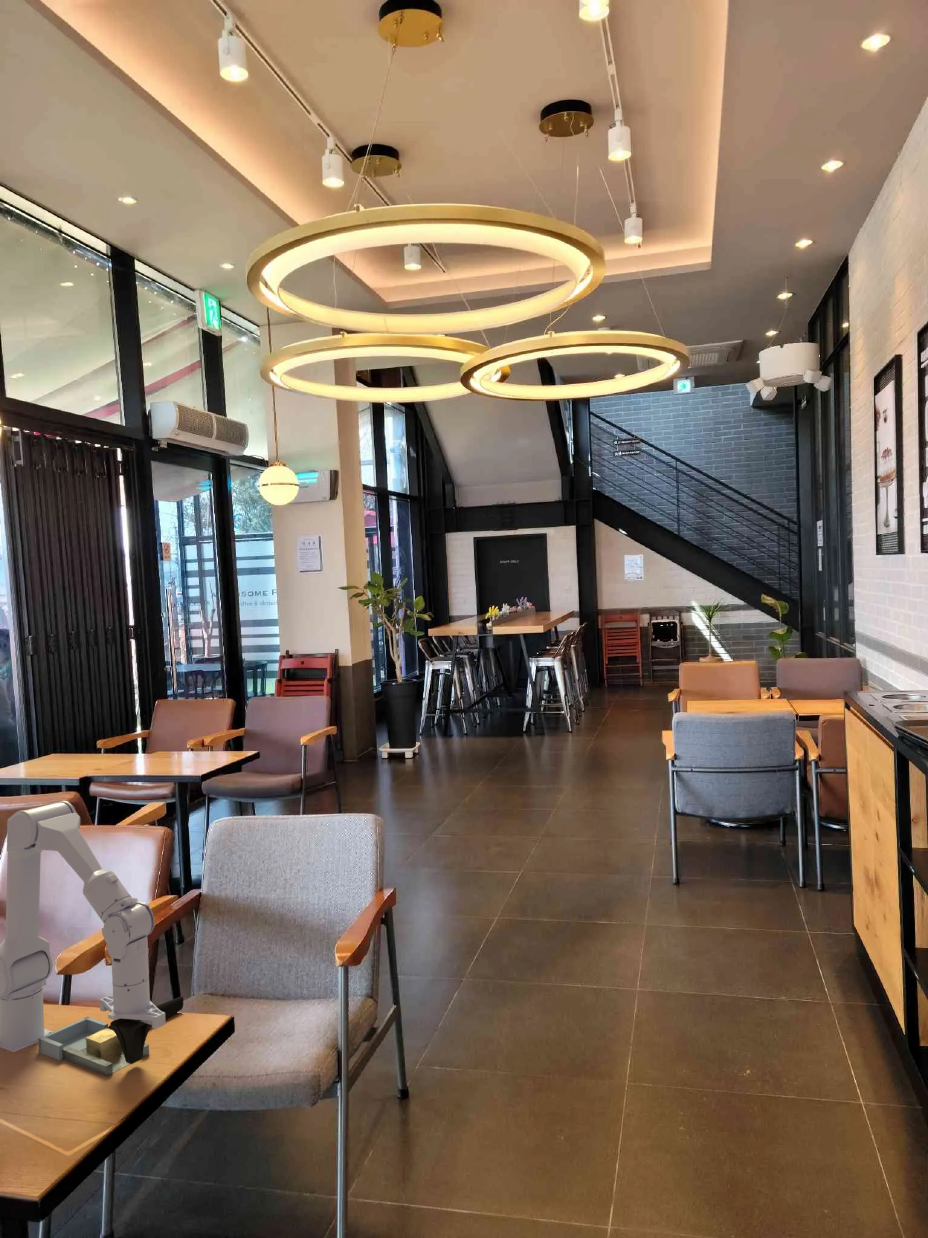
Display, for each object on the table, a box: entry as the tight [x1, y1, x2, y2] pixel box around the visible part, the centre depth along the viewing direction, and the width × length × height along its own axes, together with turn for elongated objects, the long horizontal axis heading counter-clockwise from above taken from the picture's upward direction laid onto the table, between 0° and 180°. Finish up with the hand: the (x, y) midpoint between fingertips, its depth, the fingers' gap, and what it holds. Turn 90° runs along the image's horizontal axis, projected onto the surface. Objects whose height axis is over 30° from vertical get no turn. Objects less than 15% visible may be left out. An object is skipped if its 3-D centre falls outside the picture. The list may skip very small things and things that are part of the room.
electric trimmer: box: [108, 996, 184, 1030], centre depth 165 cm, size 4×16×3 cm, turn 143°
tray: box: [37, 1016, 109, 1061], centre depth 158 cm, size 6×10×3 cm, turn 147°
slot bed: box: [62, 1043, 150, 1077], centre depth 153 cm, size 12×8×2 cm
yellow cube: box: [86, 1028, 122, 1061], centre depth 153 cm, size 4×4×4 cm
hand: (133, 1061), depth 149 cm, fingers closed
